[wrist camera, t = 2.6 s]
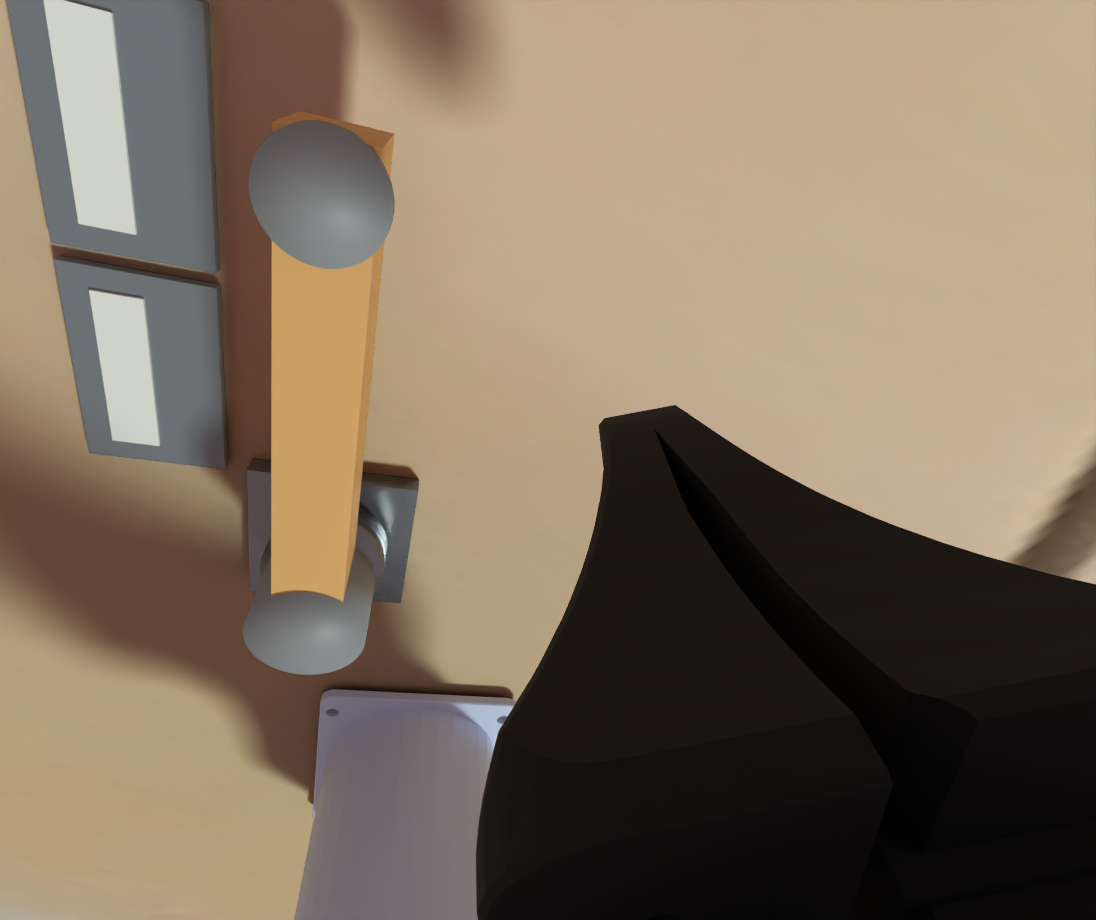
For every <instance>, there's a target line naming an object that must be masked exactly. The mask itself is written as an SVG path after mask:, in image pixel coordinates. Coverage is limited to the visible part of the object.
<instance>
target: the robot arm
mask: <svg viewBox="0 0 1096 920" xmlns="http://www.w3.org/2000/svg"><path fill="white" fill-rule="evenodd" d="M599 433H600V441H601V450H602V458H603V467H604V471H603V481H602V490H601V497H600V502H599V507H598V512H597V517H596V522H595V526H594V531H593V534H592V538H591V542H590V545H589V549H588V552H587V555H586V558H585V562H584V565H583V568H582V571H581V573H580V576H579V579H578V581H577V584H576V586H575V589H574V592H573V594H572V597H571V599H570V602H569V604H568V607H567V609H566V611H565V613H564V616H563V618H562V620H561V622H560V624H559V626H558V628H557V630H556V632H555V634H554V636H553V638H552V640H551V642H550V644H549V646H548V648H547V650H546V652H545V654H544V656H543V658H542V660H541V662H540V664H539V666H538V667H537V669H536V671H535V673H534V674H533V676H532V678H531V680H530V681H529V683H528V684H527V686H526V688H525V689H524V691H523V692H522V694H521V696H520V697H519V699H518V701H517V702H515V701H514V700H512V699H510V698H499V697H479V696H459V695H439V694H419V693H399V692H379V691H359V690H339V689H333V690H328V691H326V692H325V693H323V695H322V697H321V702H320V713H319V727H318V742H317V757H316V772H315V787H314V802H313V818H314V821H313V826H312V831H311V836H310V841H309V846H308V851H307V856H306V862H305V867H304V872H303V877H302V882H301V887H300V892H299V897H298V903H297V908H296V913H295V918H294V920H1096V584H1091V583H1087V582H1082V581H1078V580H1073V579H1069V578H1064V577H1060V576H1056V575H1052V574H1048V573H1044V572H1040V571H1037V570H1033V569H1029V568H1026V567H1022V566H1019V565H1015V564H1011V563H1008V562H1004V561H1001V560H997V559H993V558H990V557H986V556H983V555H980V554H977V553H973V552H970V551H967V550H964V549H961V548H957V547H954V546H951V545H948V544H945V543H942V542H939V541H936V540H933V539H931V538H928V537H925V536H922V535H919V534H917V533H914V532H911V531H908V530H905V529H903V528H900V527H897V526H894V525H892V524H889V523H887V522H884V521H882V520H879V519H877V518H874V517H872V516H869V515H867V514H865V513H862V512H860V511H858V510H856V509H853V508H851V507H849V506H847V505H844V504H842V503H840V502H837V501H835V500H833V499H831V498H828V497H826V496H824V495H822V494H820V493H818V492H816V491H814V490H812V489H810V488H808V487H806V486H804V485H803V484H801V483H799V482H797V481H795V480H793V479H791V478H790V477H788V476H786V475H784V474H782V473H780V472H778V471H777V470H775V469H773V468H771V467H770V466H768V465H766V464H765V463H763V462H761V461H759V460H758V459H756V458H755V457H753V456H751V455H750V454H748V453H746V452H745V451H743V450H742V449H740V448H738V447H737V446H735V445H734V444H732V443H731V442H729V441H728V440H726V439H725V438H723V437H722V436H720V435H719V434H717V433H716V432H714V431H713V430H711V429H710V428H708V427H707V426H705V425H704V424H702V423H701V422H699V421H698V420H697V419H695V418H694V417H692V416H691V415H689V414H688V413H686V412H685V411H683V410H682V409H680V408H679V407H677V406H676V405H673V406H668V407H663V408H657V409H652V410H647V411H641V412H636V413H630V414H625V415H620V416H614V417H609V418H604V420H603V421H602V422H601V423H600V424H599Z"/></svg>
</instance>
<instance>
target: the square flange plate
mask: <svg viewBox="0 0 1096 920" xmlns="http://www.w3.org/2000/svg"><path fill="white" fill-rule="evenodd" d="M418 486H419V480H417V479H409V478H401V477H393V476H385V475H378V474H370V473H362V480H361V491H360V501H359V512H358V522H357V533H356V544H355V548H356V549H358V550H359V551H360V552H362V553H363V554H364V555H365V556H366V557H367V558H368V560H369V561H370V562H371V564H372V566H373V568H374V571H375V577H376V580H375V588H374V594H373V600H372V601H381V602H393V603H401V597H402V591H403V584H404V578H405V572H406V565H407V559H408V552H409V546H410V539H411V533H412V526H413V520H414V514H415V507H416V501H417V494H418ZM247 499H248V541H249V583H250V591H256V590H257V587H258V585H259V582H260V580H261V577H262V574H263V572H264V569H265V567H266V564H267V562H268V560H269V558H270V556H271V461H266V460H258V459H252V461H251V463H250V465H249V467H248V469H247Z"/></svg>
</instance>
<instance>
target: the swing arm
mask: <svg viewBox="0 0 1096 920" xmlns="http://www.w3.org/2000/svg"><path fill="white" fill-rule="evenodd" d="M393 142H394V134H393V133H389V132H385V131H381V130H377V129H373V128H369V127H365V126H361V125H357V124H352V123H348V122H344V121H340V120H336V119H332V118H328V117H324V116H320V115H316V114H312V113H308V112H304V111H299V112H296V113H293V114H291V115H288V116H285V117H283V118H280V119H277V120H275V121H272V134H270V135H269V136H268V137H267V138H266V139H265V140H264V141H263V142H262V144H261V145H260V146H259V147H258V149H257V151H256V153H255V155H254V157H253V160H252V163H251V166H250V171H249V182H248V185H249V195H250V200H251V204H252V207H253V210H254V213H255V215H256V217H257V219H258V221H259V223H260V225H261V226H262V228H263V230H264V231H265V232H266V234H267V235H268V236H269V237H270V239H271V240H272V368H271V556H270V558H269V560H268V562H267V564H266V567H265V569H264V572H263V574H262V577H261V580H260V582H259V585H258V587H257V590H256V593H255V595H254V598H253V600H252V603H251V606H250V608H249V611H248V613H247V616H246V619H245V621H244V625H243V630H242V634H243V639H244V642H245V644H246V646H247V648H248V649H249V651H250V652H251V653H252V654H253V655H254V656H255V657H256V658H257V659H259V660H260V661H261V662H263V663H265V664H266V665H268V666H270V667H273V668H275V669H278V670H280V671H284V672H288V673H293V674H302V675H316V674H324V673H329V672H333V671H336V670H339V669H341V668H343V667H345V666H347V665H349V664H350V663H352V662H353V661H354V660H356V658H357V657H358V656H359V655H360V654H361V652H362V651H363V648H364V646H365V642H366V636H367V630H368V624H369V618H370V612H371V606H372V600H373V594H374V588H375V580H376V577H375V571H374V568H373V566H372V564H371V562H370V561H369V560H368V558H367V557H366V556H365V555H364V554H363V553H362V552H360V551H359V550H358V549H356V548H355V544H356V533H357V522H358V512H359V501H360V491H361V480H362V470H363V459H364V449H365V438H366V427H367V417H368V406H369V396H370V385H371V375H372V364H373V354H374V343H375V332H376V322H377V311H378V301H379V290H380V280H381V269H382V259H383V248H384V241H385V239H386V237H387V234H388V232H389V230H390V227H391V224H392V221H393V215H394V193H393V188H392V183H391V181H390V174H391V164H392V153H393Z"/></svg>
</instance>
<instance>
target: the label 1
mask: <svg viewBox="0 0 1096 920" xmlns="http://www.w3.org/2000/svg"><path fill="white" fill-rule="evenodd" d="M7 6H8V11H9V17H10V22H11V27H12V33H13V38H14V44H15V49H16V55H17V60H18V66H19V71H20V77H21V82H22V88H23V93H24V99H25V104H26V110H27V115H28V121H29V126H30V132H31V137H32V143H33V148H34V154H35V159H36V165H37V170H38V176H39V181H40V187H41V192H42V198H43V203H44V208H45V214H46V219H47V225H48V230H49V236H50V241H51V243H56V244H62V245H67V246H72V247H78V248H83V249H89V250H94V251H99V252H105V253H110V254H115V255H121V256H126V257H132V258H137V259H142V260H148V261H153V262H159V263H164V264H169V265H175V266H180V267H186V268H191V269H196V270H202V271H207V272H213V273H216V272H218V271H219V270H220V265H219V242H218V219H217V195H216V172H215V148H214V125H213V102H212V78H211V55H210V32H209V8H208V3H206V2H203V1H199V0H7Z"/></svg>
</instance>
